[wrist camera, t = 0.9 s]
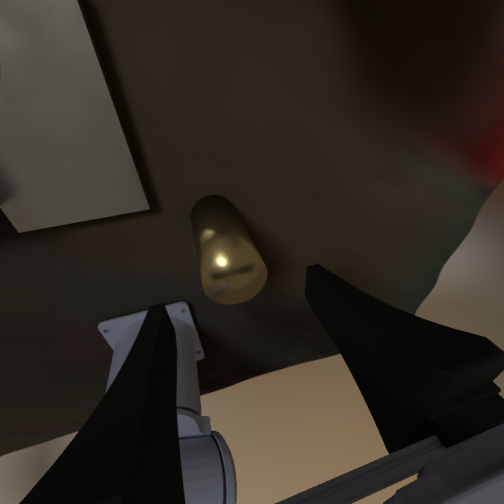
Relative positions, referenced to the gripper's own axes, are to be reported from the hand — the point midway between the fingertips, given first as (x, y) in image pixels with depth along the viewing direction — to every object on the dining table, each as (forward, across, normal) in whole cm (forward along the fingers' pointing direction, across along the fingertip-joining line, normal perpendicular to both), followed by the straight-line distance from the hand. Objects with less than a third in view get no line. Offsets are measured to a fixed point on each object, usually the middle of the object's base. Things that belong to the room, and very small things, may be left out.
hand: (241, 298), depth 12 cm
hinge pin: (+9, 0, 0) cm, 9 cm away
